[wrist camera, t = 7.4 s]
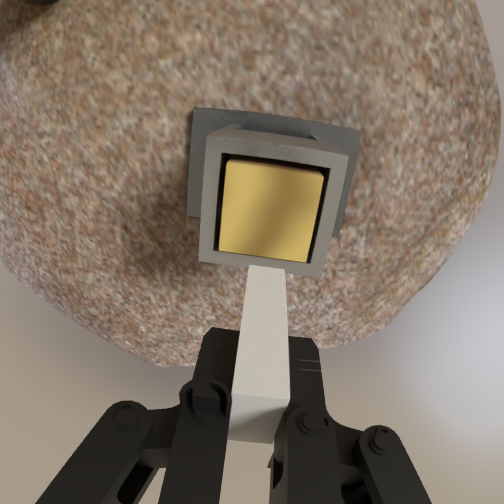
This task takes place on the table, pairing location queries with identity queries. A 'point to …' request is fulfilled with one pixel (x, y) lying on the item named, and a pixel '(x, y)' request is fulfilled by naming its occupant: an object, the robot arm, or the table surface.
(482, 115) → the table surface
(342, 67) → the table surface
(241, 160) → the block
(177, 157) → the table surface
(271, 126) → the chute
